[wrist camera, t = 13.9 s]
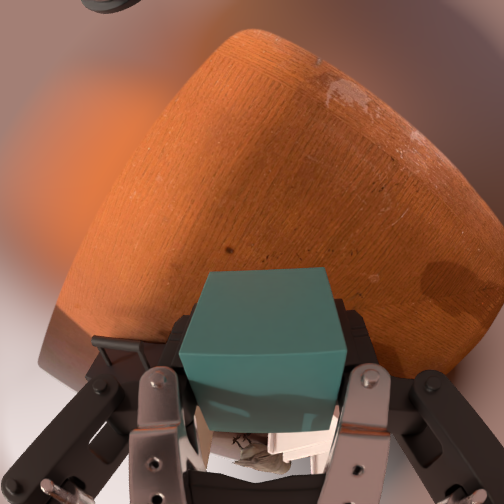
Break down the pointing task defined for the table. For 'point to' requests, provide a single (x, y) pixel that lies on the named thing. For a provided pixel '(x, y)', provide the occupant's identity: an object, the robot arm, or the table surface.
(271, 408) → the block
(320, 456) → the white desk organizer
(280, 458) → the decorative bird
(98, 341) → the drawer
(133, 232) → the table surface
